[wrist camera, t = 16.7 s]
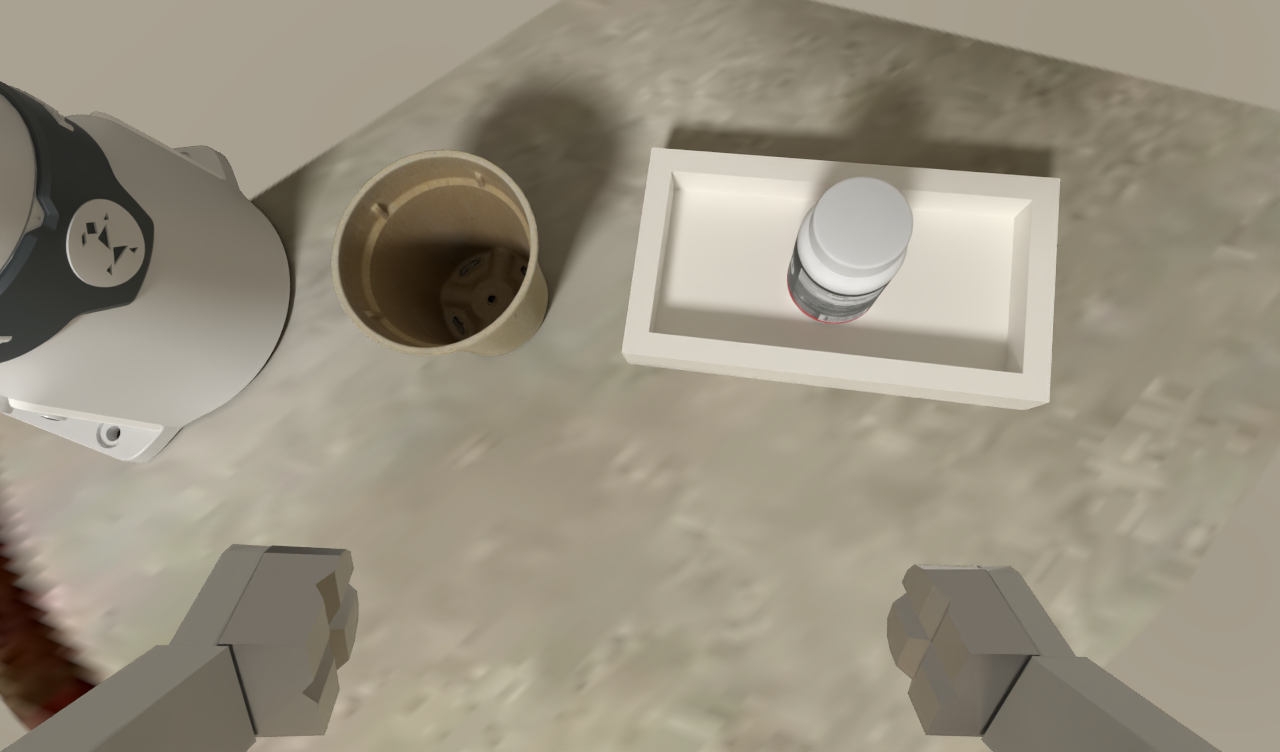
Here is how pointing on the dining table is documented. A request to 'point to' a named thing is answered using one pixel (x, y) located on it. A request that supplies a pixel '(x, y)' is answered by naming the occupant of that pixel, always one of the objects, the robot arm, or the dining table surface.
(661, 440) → the dining table surface
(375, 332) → the flower pot
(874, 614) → the dining table surface
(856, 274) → the pill bottle
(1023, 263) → the tray
